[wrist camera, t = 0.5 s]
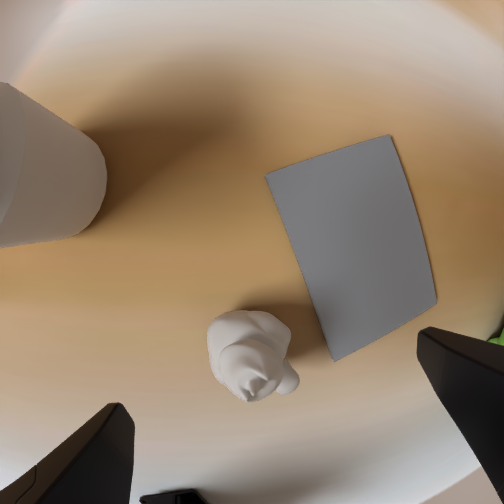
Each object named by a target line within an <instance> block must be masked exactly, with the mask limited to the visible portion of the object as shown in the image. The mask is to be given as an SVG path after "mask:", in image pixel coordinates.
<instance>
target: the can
mask: <svg viewBox="0 0 504 504" xmlns="http://www.w3.org/2000/svg"><path fill="white" fill-rule="evenodd" d="M106 184H107V170H106V164H105V158H104V156H103V154H102V152H101V151H100V149H99V147H98V145H97V144H96V143H95V142H94V141H93V140H92V139H90V138H89V137H88V136H87V135H86V134H84V133H82V132H81V131H79V130H78V129H76V128H75V127H73V126H72V125H70V124H69V123H67V122H66V121H64V120H63V119H61V118H60V117H58V116H57V115H55V114H54V113H52V112H51V111H49V110H48V109H46V108H45V107H43V106H42V105H40V104H39V103H37V102H36V101H34V100H33V99H31V98H30V97H28V96H26V95H25V94H23V93H22V92H20V91H19V90H17V89H16V88H14V87H13V86H11V85H10V84H8V83H3V82H0V248H5V247H12V246H19V245H26V244H33V243H40V242H47V241H54V240H62V239H66V238H68V237H71V236H74V235H77V234H78V233H79V232H81V231H82V230H83V229H84V228H86V227H87V226H88V225H89V224H90V223H91V221H92V220H93V219H94V217H95V216H96V214H97V213H98V211H99V210H100V207H101V204H102V201H103V199H104V196H105V193H106Z"/></svg>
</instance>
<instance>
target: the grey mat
mask: <svg viewBox="0 0 504 504" xmlns="http://www.w3.org/2000/svg"><path fill="white" fill-rule="evenodd" d="M265 178H266V181H267V183H268V186H269V188H270V191H271V193H272V196H273V198H274V201H275V203H276V206H277V208H278V211H279V214H280V216H281V219H282V221H283V224H284V226H285V229H286V232H287V234H288V237H289V240H290V242H291V245H292V248H293V250H294V253H295V256H296V258H297V261H298V264H299V266H300V269H301V272H302V275H303V277H304V280H305V283H306V286H307V288H308V291H309V294H310V297H311V300H312V303H313V305H314V308H315V311H316V314H317V317H318V320H319V323H320V325H321V328H322V331H323V334H324V337H325V340H326V343H327V346H328V349H329V352H330V355H331V358H332V359H333V361H334V362H335V361H337V360H339V359H341V358H343V357H345V356H347V355H349V354H351V353H353V352H355V351H357V350H359V349H360V348H362V347H364V346H366V345H368V344H370V343H372V342H374V341H375V340H377V339H379V338H381V337H383V336H384V335H386V334H388V333H390V332H391V331H393V330H395V329H397V328H398V327H400V326H402V325H403V324H405V323H407V322H408V321H410V320H412V319H413V318H415V317H416V316H418V315H420V314H421V313H423V312H424V311H426V310H428V309H429V308H431V307H432V306H434V305H435V304H437V300H436V294H435V289H434V283H433V278H432V273H431V268H430V263H429V259H428V255H427V250H426V246H425V242H424V238H423V234H422V230H421V226H420V223H419V219H418V216H417V212H416V209H415V205H414V202H413V199H412V196H411V192H410V189H409V186H408V183H407V180H406V177H405V174H404V172H403V169H402V166H401V163H400V161H399V158H398V155H397V153H396V150H395V147H394V145H393V142H392V140H391V137H390V135H385V136H382V137H378V138H375V139H372V140H368V141H365V142H361V143H358V144H355V145H352V146H348V147H345V148H342V149H339V150H336V151H332V152H329V153H326V154H323V155H320V156H317V157H314V158H311V159H308V160H305V161H302V162H299V163H296V164H293V165H291V166H288V167H285V168H282V169H279V170H276V171H274V172H271V173H268V174H266V175H265Z"/></svg>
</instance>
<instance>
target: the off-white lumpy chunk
mask: <svg viewBox="0 0 504 504" xmlns="http://www.w3.org/2000/svg"><path fill="white" fill-rule="evenodd" d="M290 340H291V332H290V329H289V328H288V327H287V326H286V325H285V324H283V323H282V322H281V321H280V320H278V319H277V318H276V317H275V316H273V315H272V314H270V313H268V312H264V311H246V310H238V311H231V312H226V313H223V314H222V315H220V316H218V317H217V318H216V319H215V320H214V321H213V322H212V323H211V324H210V325H209V327H208V330H207V344H208V352H209V356H210V357H209V361H210V366H211V369H212V371H213V374H214V376H215V377H216V379H217V380H218V381H219V382H220V383H222V384H223V385H225V386H226V387H228V389H229V390H230V391H231V392H232V393H233V394H234V395H235V396H237V397H238V398H240V399H242V400H244V401H247V402H255V401H259V400H261V399H263V398H265V397H267V396H268V395H270V394H271V393H272V392H274V391H276V392H278V393H279V394H282V395H287V394H290V393H291V392H293V391H294V390H295V389H296V388H297V387H298V385H299V382H300V379H299V375H298V374H297V372H296V371H295V370H294V369H293V368H292V367H291V365H290V364H289V362H288V361H287V360H286V359H285V358H284V357H285V355H286V353H287V348H288V345H289V343H290Z"/></svg>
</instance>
